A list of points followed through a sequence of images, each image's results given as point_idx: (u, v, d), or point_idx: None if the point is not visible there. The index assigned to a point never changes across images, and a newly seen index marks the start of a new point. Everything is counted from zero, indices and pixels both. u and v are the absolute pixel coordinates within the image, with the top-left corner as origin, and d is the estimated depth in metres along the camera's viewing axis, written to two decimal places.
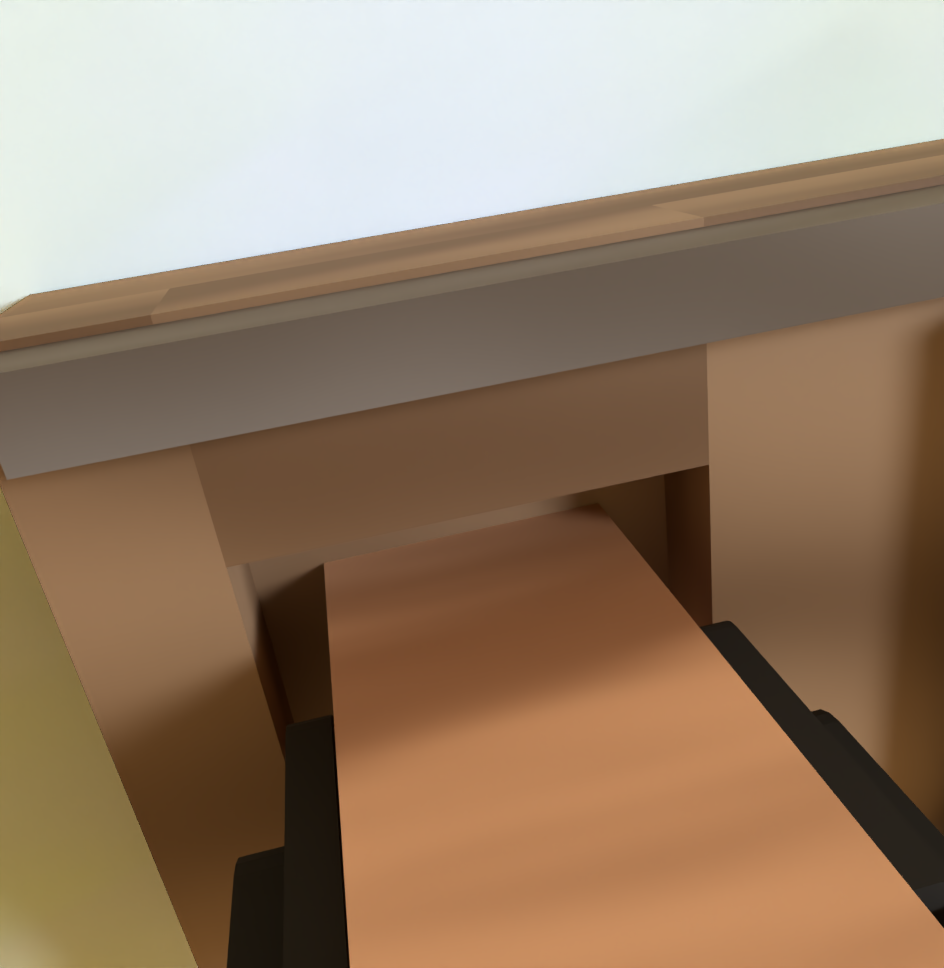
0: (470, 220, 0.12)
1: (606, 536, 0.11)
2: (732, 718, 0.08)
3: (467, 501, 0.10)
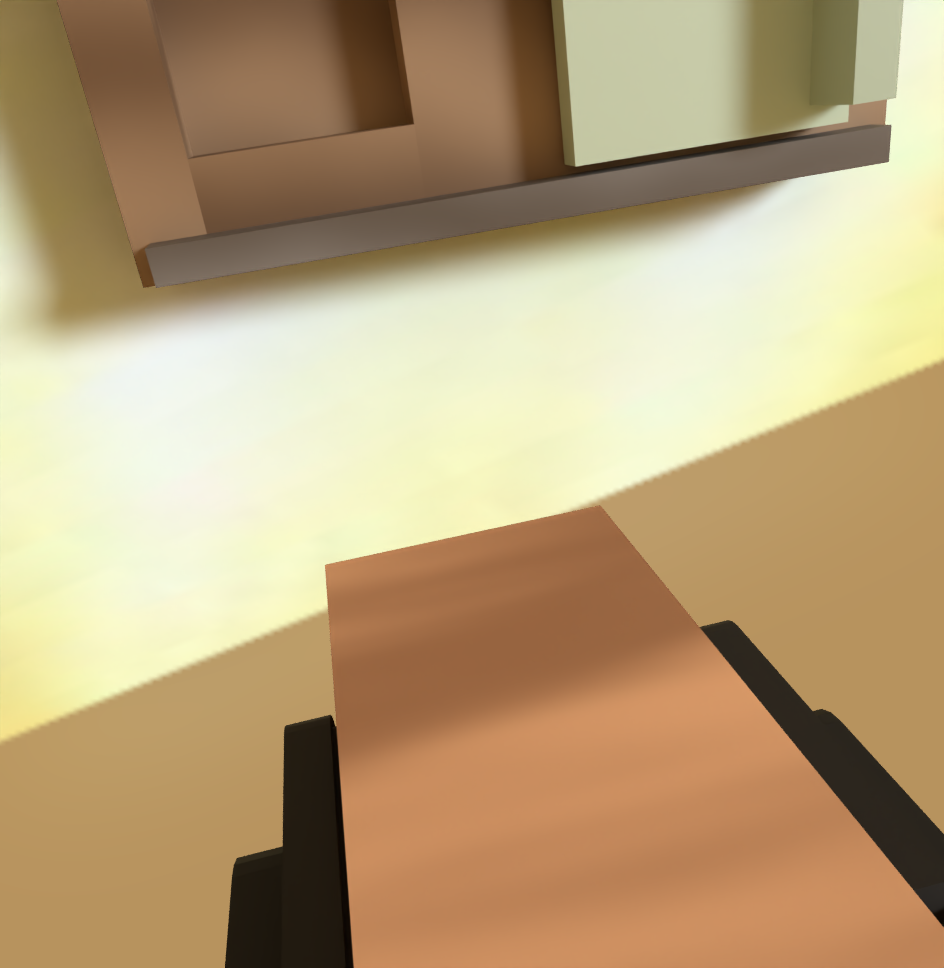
0: None
1: (608, 539, 0.11)
2: (736, 723, 0.08)
3: None
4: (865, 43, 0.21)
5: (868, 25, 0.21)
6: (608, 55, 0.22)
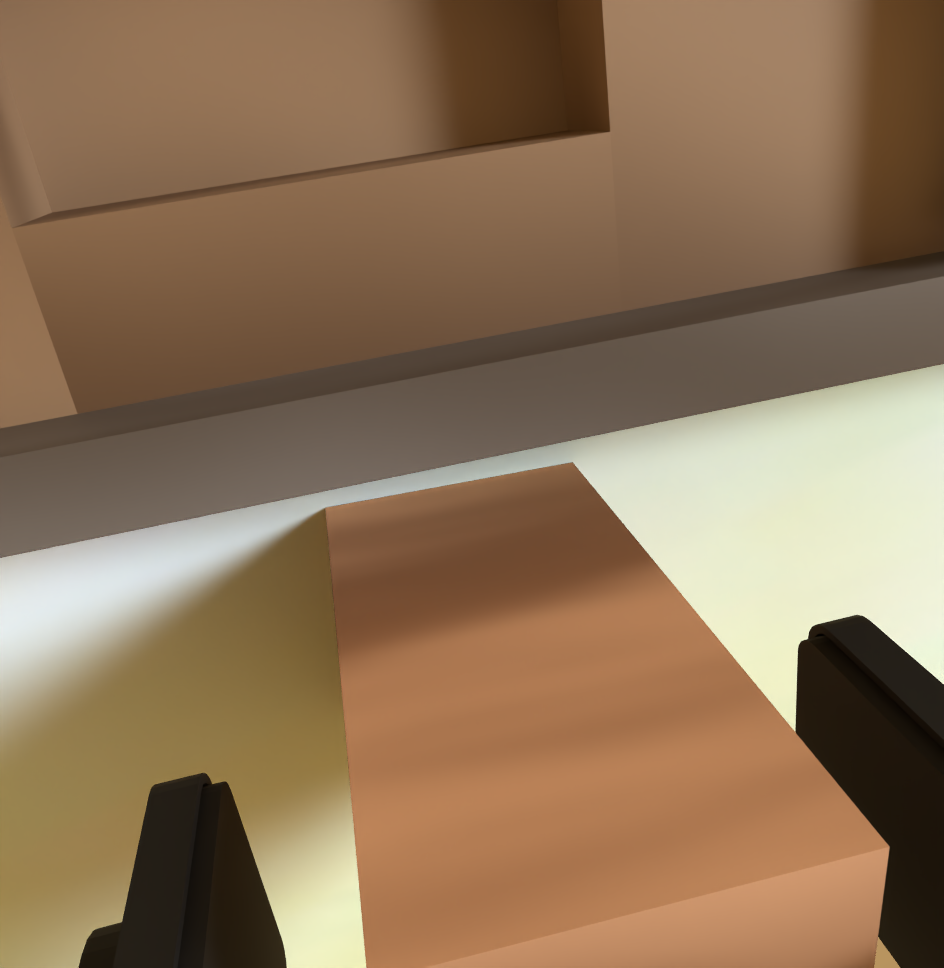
0: None
1: (578, 489, 0.13)
2: (675, 627, 0.09)
3: None
4: None
5: None
6: None
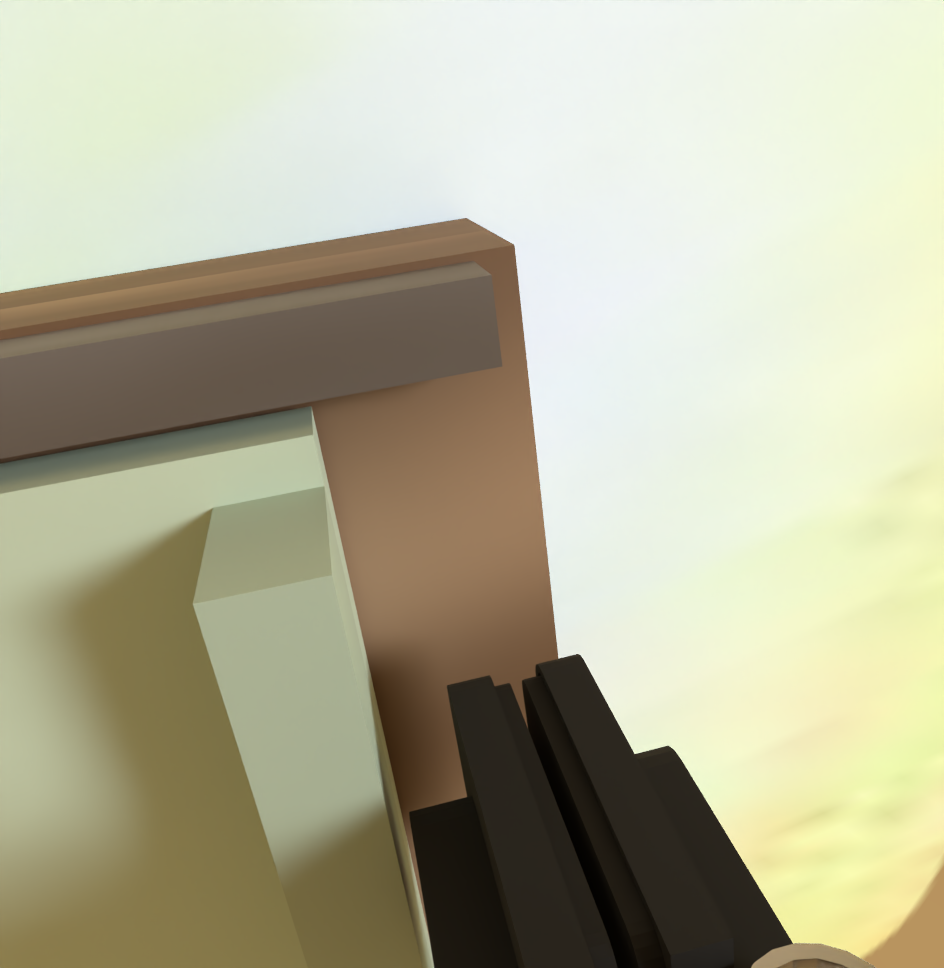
0: None
1: None
2: None
3: None
4: None
5: None
6: None
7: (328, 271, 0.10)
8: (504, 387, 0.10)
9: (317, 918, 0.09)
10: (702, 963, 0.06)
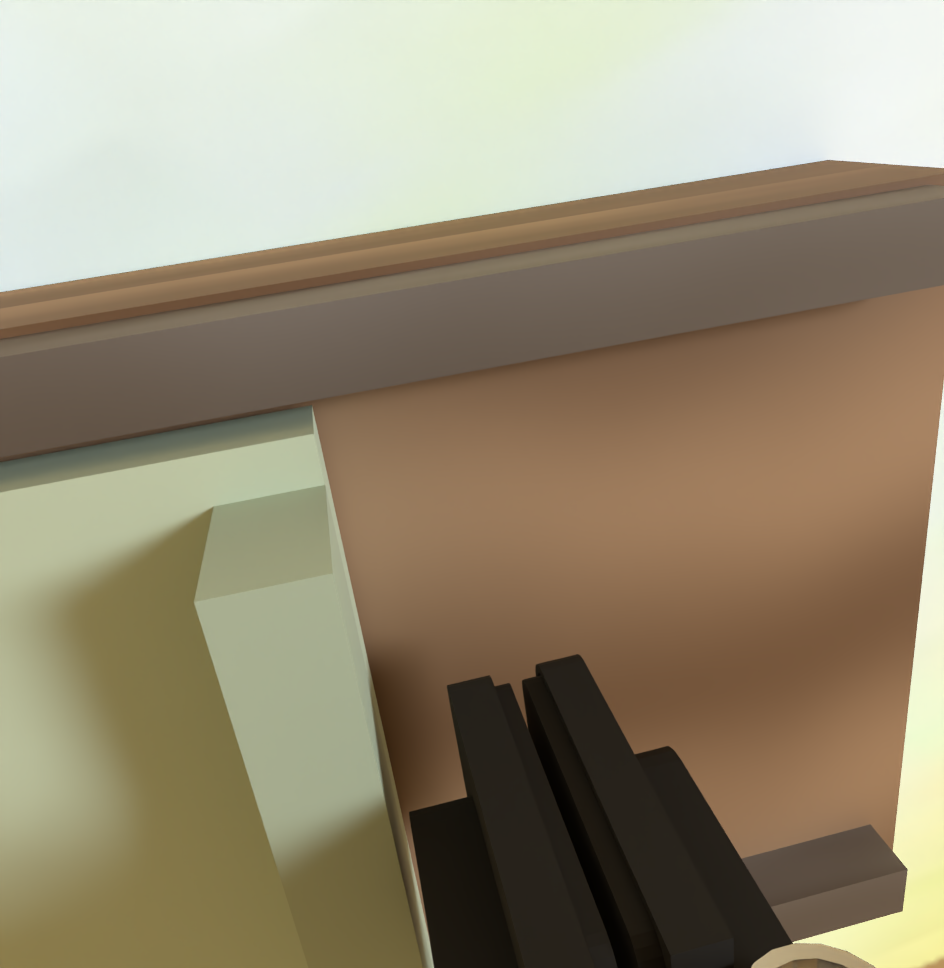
0: None
1: None
2: None
3: None
4: None
5: None
6: None
7: (791, 194, 0.11)
8: (930, 307, 0.11)
9: (318, 916, 0.09)
10: (702, 963, 0.06)
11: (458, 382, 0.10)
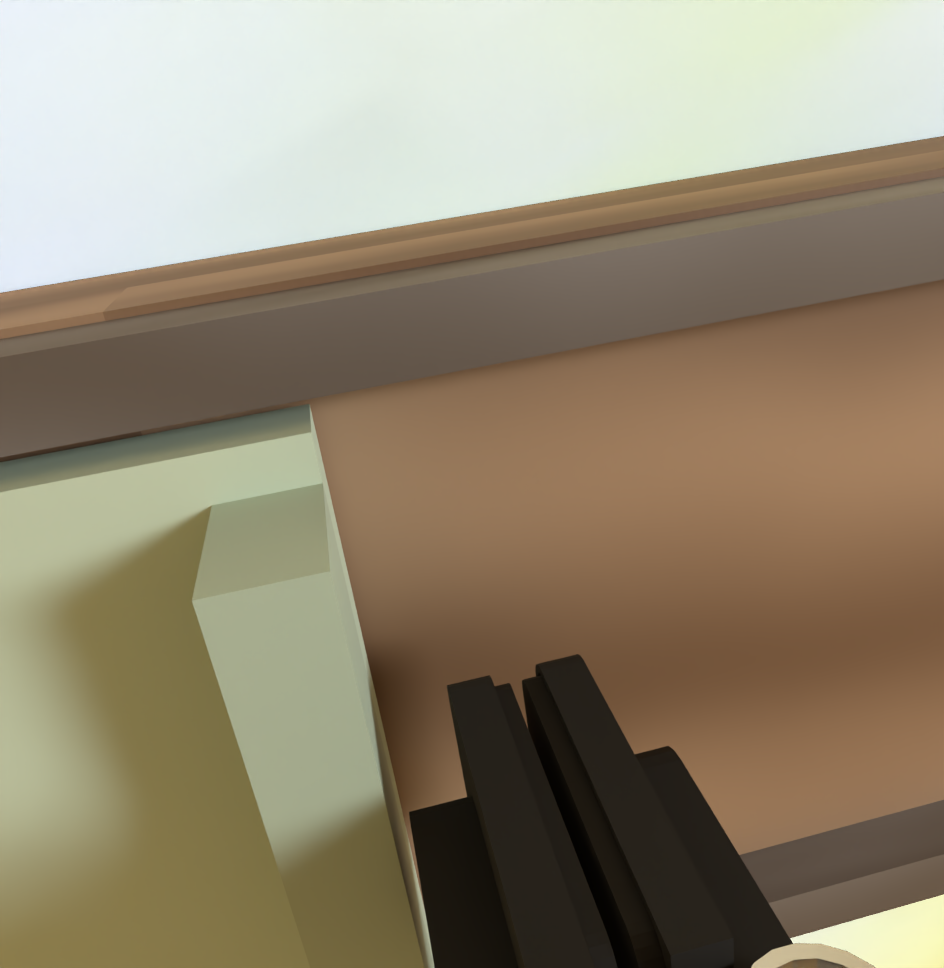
0: None
1: None
2: None
3: None
4: None
5: None
6: None
7: None
8: None
9: (318, 913, 0.09)
10: (702, 963, 0.06)
11: (729, 328, 0.11)
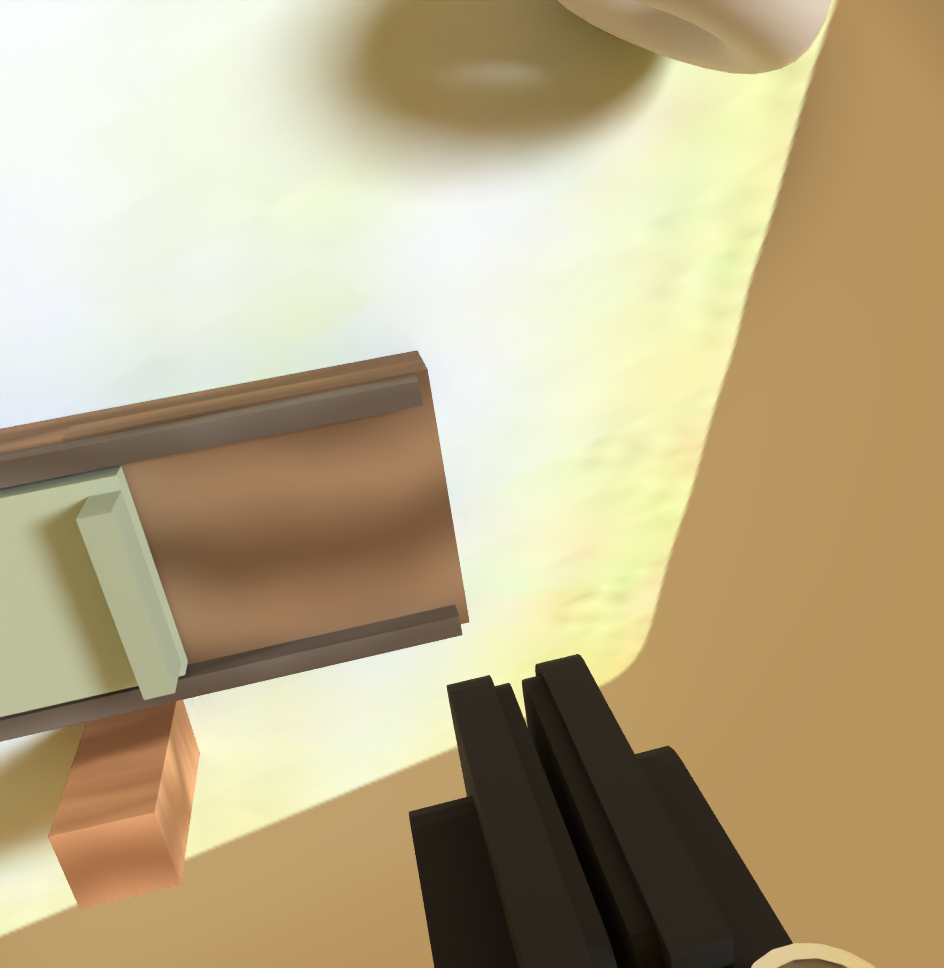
0: (26, 424, 0.34)
1: (171, 702, 0.39)
2: (157, 758, 0.36)
3: None
4: (139, 670, 0.32)
5: (138, 661, 0.32)
6: None
7: (372, 377, 0.33)
8: (426, 410, 0.34)
9: (118, 613, 0.31)
10: (702, 963, 0.06)
11: (267, 438, 0.33)
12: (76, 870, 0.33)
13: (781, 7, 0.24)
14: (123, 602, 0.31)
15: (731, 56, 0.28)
